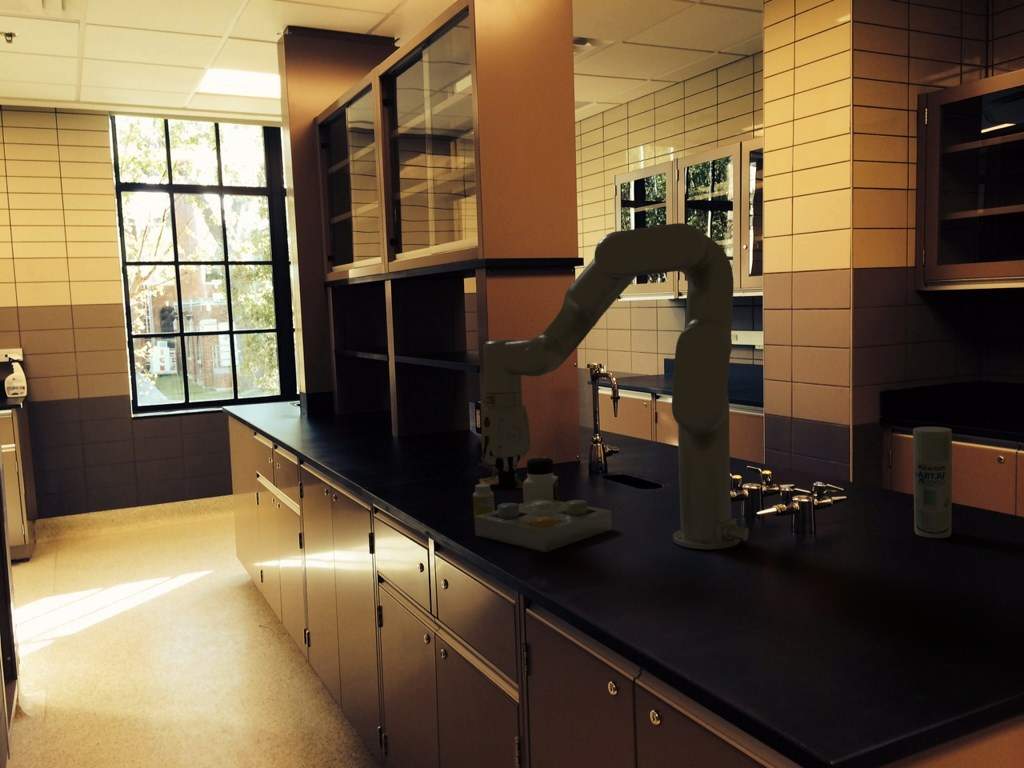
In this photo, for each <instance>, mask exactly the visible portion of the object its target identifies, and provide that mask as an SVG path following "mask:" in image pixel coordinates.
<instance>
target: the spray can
mask: <svg viewBox="0 0 1024 768" xmlns="http://www.w3.org/2000/svg"><path fill="white" fill-rule="evenodd" d="M912 445H913V451H912V453H913V455H912V456H913V511H914V512H913V513H914V514H913V518H914V519H913V521H914V529H913V530H914V533H915V534H916V535H917V536H919V537H925V538H929V539H945V538H949V537H950V536H952V510H953V509H952V494H953V493H952V491H953V490H952V486H953V485H952V483H953V481H952V476H953V474H952V473H953V471H952V470H953V464H952V463H953V430H952V428H948V427H941V426H918V427H913V430H912Z"/></svg>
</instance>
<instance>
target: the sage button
mask: <svg viewBox="0 0 1024 768" xmlns="http://www.w3.org/2000/svg"><path fill="white" fill-rule="evenodd" d="M565 502H566V515H570V516H575V517H580V516H583V515H586V514H588V507H587V506H588V501H587V500H584V499H573V500H568V501H565Z"/></svg>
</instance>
